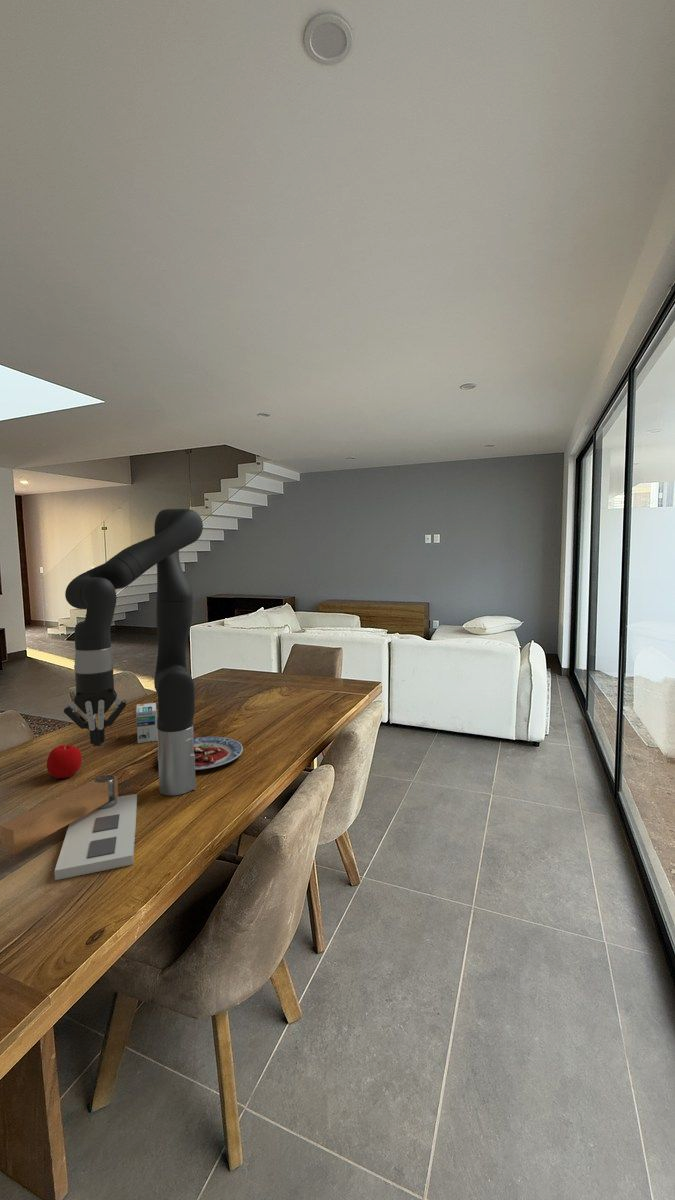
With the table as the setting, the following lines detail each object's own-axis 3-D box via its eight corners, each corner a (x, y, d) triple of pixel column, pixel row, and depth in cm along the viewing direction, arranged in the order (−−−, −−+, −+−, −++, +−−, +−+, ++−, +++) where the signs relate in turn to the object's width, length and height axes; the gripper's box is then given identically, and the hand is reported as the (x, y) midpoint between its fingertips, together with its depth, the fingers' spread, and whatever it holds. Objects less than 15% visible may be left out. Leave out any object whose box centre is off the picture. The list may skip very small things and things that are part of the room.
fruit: (88, 774, 142) (86, 741, 141) (53, 785, 135) (51, 750, 134) (75, 765, 148) (73, 733, 147) (42, 775, 141) (40, 742, 140)
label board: (137, 801, 126) (136, 790, 126) (133, 864, 100) (132, 850, 100) (76, 811, 121) (75, 799, 121) (55, 880, 95) (54, 865, 95)
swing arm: (119, 795, 122) (118, 776, 121) (15, 854, 98) (13, 830, 97) (106, 792, 123) (105, 773, 123) (0, 849, 99) (-1, 826, 99)
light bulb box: (158, 741, 168) (157, 710, 167) (137, 744, 165) (135, 712, 165) (157, 731, 178) (156, 702, 177) (137, 733, 175) (136, 704, 174)
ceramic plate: (221, 780, 139) (221, 769, 138) (140, 772, 144) (139, 762, 144) (255, 745, 164) (255, 737, 164) (184, 740, 169) (184, 732, 169)
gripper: (127, 662, 113) (130, 735, 115) (63, 667, 109) (67, 743, 110) (126, 669, 106) (129, 747, 108) (56, 674, 102) (61, 755, 103)
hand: (97, 744), depth 109 cm, fingers closed
